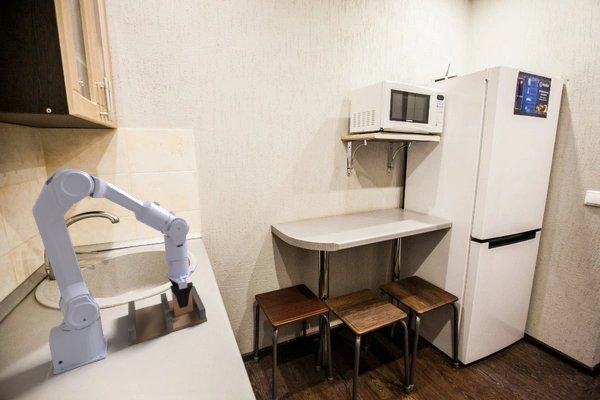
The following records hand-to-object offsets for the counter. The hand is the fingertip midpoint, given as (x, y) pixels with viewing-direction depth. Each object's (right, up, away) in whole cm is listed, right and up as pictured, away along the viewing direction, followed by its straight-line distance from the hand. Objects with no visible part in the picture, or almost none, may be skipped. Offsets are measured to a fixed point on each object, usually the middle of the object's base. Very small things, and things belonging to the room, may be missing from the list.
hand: (181, 301), depth 82 cm
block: (0, -3, +1) cm, 3 cm away
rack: (-4, -4, -1) cm, 6 cm away
